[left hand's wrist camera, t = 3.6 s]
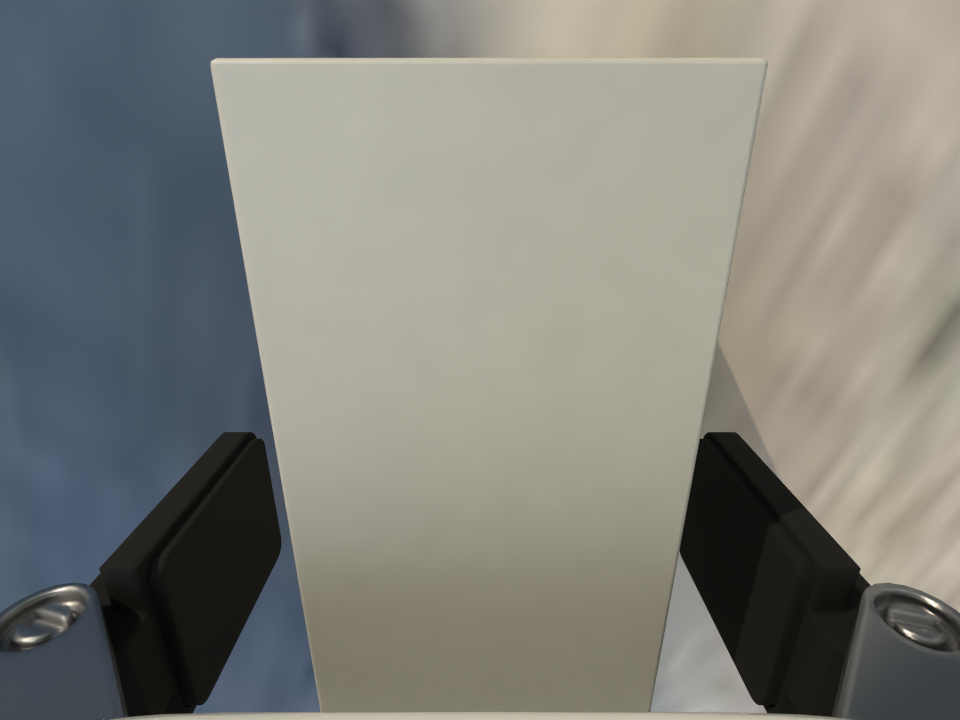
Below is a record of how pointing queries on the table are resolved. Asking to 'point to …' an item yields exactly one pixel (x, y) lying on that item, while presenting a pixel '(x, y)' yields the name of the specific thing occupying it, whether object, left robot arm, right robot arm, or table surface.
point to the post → (487, 356)
